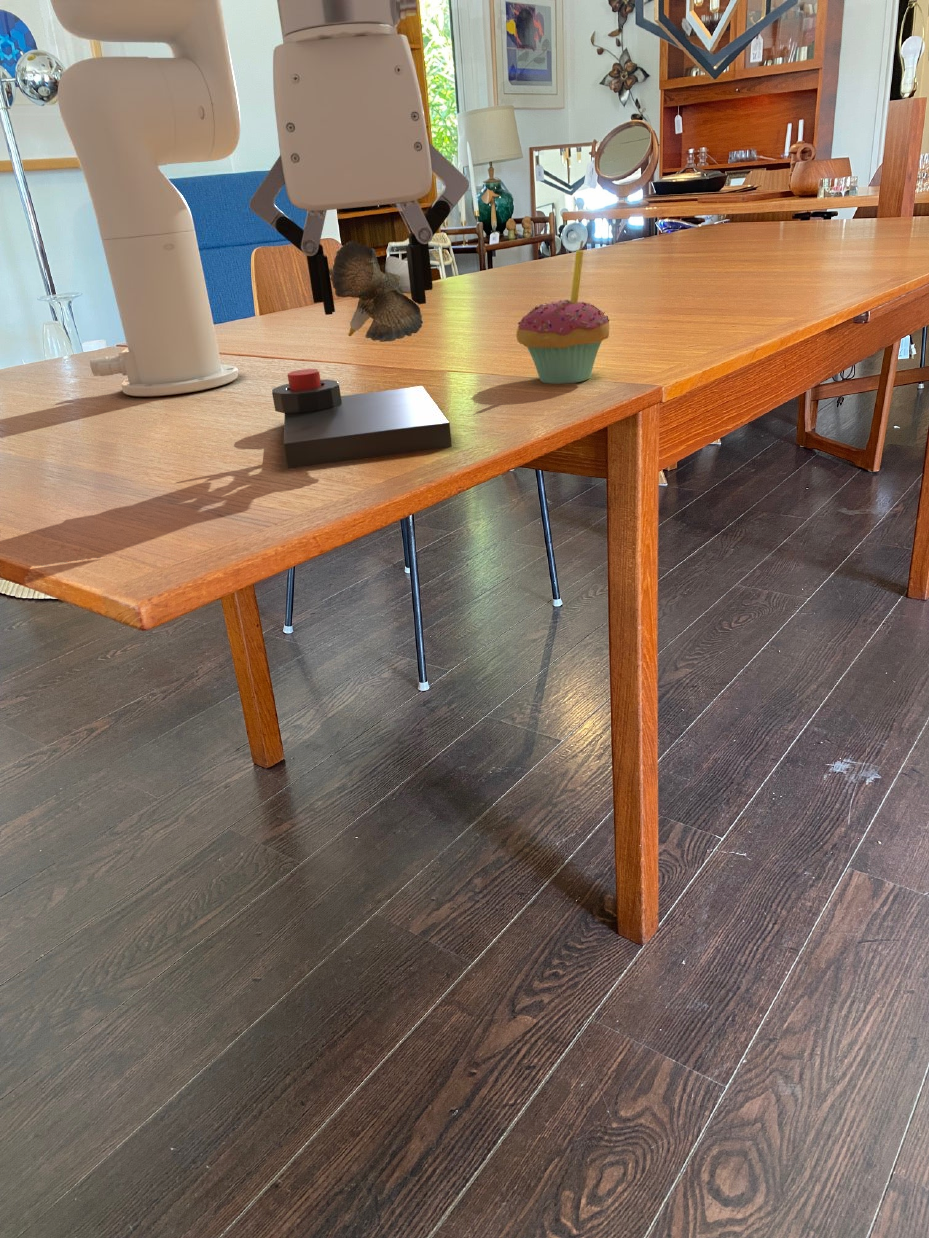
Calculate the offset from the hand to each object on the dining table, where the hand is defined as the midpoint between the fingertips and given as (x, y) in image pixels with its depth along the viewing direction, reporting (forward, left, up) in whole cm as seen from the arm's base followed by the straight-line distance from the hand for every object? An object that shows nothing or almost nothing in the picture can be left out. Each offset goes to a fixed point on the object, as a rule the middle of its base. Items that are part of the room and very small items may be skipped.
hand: (374, 305), depth 67 cm
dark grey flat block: (-2, +2, -10) cm, 10 cm away
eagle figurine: (0, 0, -2) cm, 2 cm away
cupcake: (+18, +14, -10) cm, 25 cm away
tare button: (-6, +7, -7) cm, 11 cm away
